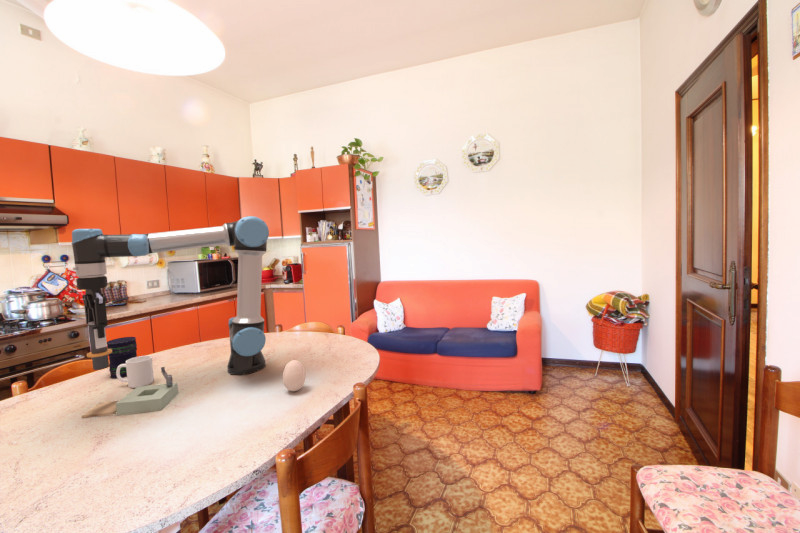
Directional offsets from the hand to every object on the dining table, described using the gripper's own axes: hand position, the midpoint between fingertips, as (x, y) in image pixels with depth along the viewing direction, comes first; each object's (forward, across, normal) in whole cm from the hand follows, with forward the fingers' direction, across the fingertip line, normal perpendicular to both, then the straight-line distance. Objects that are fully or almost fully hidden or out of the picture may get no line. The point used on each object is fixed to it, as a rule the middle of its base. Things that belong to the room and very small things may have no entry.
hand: (99, 346), depth 115 cm
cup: (+22, -16, +14) cm, 31 cm away
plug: (+7, 0, 0) cm, 7 cm away
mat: (+22, 0, 0) cm, 22 cm away
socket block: (+22, +8, +10) cm, 25 cm away
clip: (+17, +5, +17) cm, 25 cm away
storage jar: (+22, -34, +16) cm, 43 cm away
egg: (+22, +45, +42) cm, 65 cm away
